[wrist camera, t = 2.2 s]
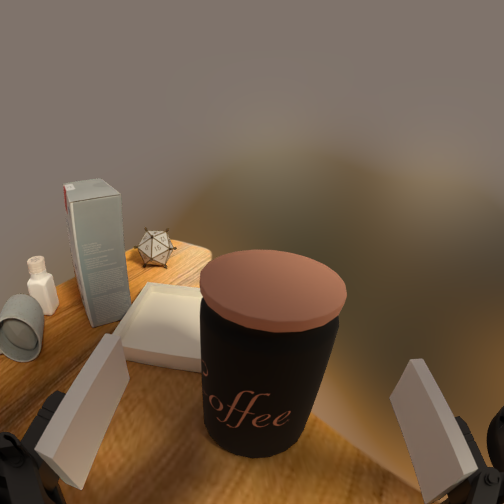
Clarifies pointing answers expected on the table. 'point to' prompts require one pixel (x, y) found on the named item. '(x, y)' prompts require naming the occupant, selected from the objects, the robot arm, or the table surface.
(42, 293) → the pepper shaker
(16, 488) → the robot arm
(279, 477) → the table surface
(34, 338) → the ceramic mug
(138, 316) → the tray
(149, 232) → the game die
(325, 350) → the coffee jar
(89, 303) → the hard drive box
